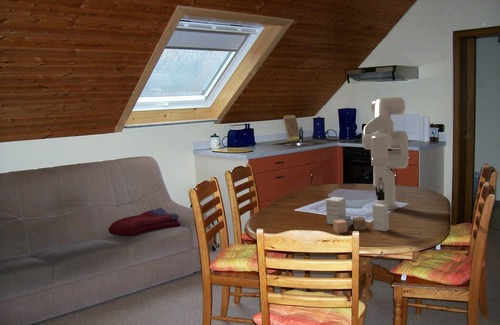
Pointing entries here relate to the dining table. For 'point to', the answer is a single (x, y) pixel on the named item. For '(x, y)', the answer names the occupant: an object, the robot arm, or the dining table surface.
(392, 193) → the robot arm
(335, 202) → the supplement box
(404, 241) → the dining table surface
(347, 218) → the slate blue cube
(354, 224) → the walnut cube
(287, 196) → the dining table surface
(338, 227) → the terracotta cube
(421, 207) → the dining table surface
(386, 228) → the skincare box
